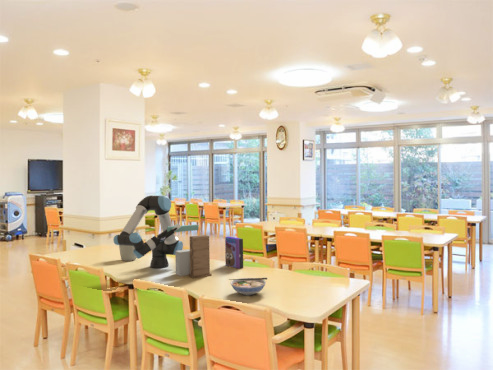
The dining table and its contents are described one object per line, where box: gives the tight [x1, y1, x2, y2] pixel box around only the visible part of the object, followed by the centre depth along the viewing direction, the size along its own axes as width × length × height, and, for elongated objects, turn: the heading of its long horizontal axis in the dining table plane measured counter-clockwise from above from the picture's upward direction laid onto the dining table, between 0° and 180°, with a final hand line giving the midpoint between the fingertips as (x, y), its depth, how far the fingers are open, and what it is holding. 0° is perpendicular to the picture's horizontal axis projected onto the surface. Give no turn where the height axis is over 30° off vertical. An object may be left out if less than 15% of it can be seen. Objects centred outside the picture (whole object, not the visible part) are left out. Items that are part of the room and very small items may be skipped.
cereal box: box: [224, 236, 244, 270], centre depth 335 cm, size 17×5×24 cm, turn 41°
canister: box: [118, 245, 138, 262], centre depth 368 cm, size 18×18×21 cm
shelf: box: [174, 248, 190, 277], centre depth 314 cm, size 8×20×18 cm, turn 121°
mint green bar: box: [167, 224, 199, 233], centre depth 311 cm, size 4×24×4 cm, turn 120°
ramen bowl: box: [228, 277, 268, 296], centre depth 257 cm, size 25×23×8 cm
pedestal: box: [187, 234, 212, 279], centre depth 306 cm, size 9×15×30 cm, turn 121°
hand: (178, 225), depth 309 cm, fingers closed on mint green bar, 4 cm apart
